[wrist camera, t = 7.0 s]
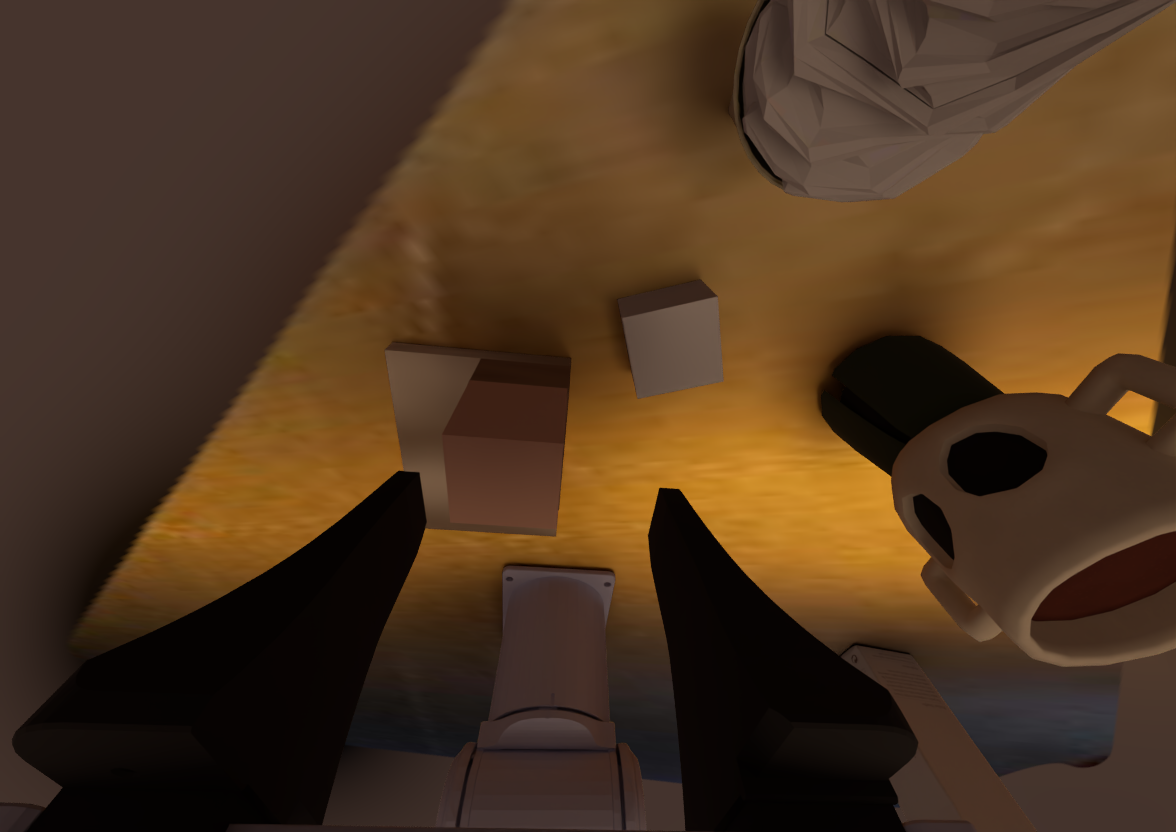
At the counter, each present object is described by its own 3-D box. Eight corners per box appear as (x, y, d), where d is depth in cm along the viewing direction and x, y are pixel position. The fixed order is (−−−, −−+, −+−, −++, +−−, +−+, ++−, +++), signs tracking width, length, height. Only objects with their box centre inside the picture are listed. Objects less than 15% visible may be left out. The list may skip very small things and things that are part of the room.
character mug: (864, 271, 20) (1237, 416, 8) (1000, 295, 20) (1513, 458, 9) (774, 457, 25) (926, 691, 14) (883, 471, 26) (1112, 706, 15)
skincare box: (825, 668, 37) (919, 861, 27) (856, 640, 35) (970, 839, 25) (883, 677, 38) (994, 868, 28) (916, 651, 36) (1051, 847, 26)
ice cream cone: (656, 173, 17) (867, 204, 5) (689, 9, 15) (1400, -1010, 2) (772, 193, 18) (1263, 273, 5) (823, 36, 15) (2141, -649, 2)
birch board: (556, 524, 28) (555, 536, 27) (418, 516, 27) (413, 527, 26) (571, 358, 22) (570, 366, 21) (392, 342, 21) (384, 350, 20)
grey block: (707, 355, 22) (723, 381, 19) (631, 371, 22) (637, 398, 20) (700, 278, 20) (717, 296, 17) (617, 298, 20) (622, 318, 18)
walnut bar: (561, 476, 24) (558, 510, 22) (484, 470, 24) (473, 504, 22) (570, 366, 21) (569, 392, 18) (480, 358, 20) (467, 384, 18)
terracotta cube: (561, 464, 20) (556, 529, 17) (473, 458, 20) (450, 522, 17) (567, 388, 18) (563, 443, 15) (469, 380, 18) (441, 434, 14)
